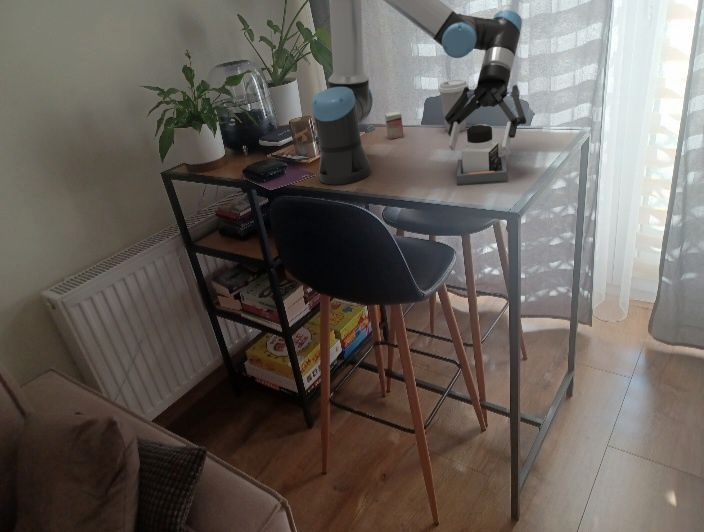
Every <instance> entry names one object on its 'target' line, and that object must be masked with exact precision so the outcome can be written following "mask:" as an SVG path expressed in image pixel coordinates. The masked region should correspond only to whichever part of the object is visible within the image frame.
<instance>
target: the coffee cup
mask: <svg viewBox="0 0 704 532" xmlns="http://www.w3.org/2000/svg"><path fill="white" fill-rule="evenodd" d="M465 87H468V88H469V83H467V80H465V79H461V78H460V79H450V80H445V81H442V82H441V83H440V84H439V87H438V93H439V94H440V95H439V96H440V100H441V105H442V106H441V107H442V112H443V113H442V114H443V119H444V126H445V131H446V132H449V128H450V124H448V123H447V121H446V120H445V116H446V115H447V114H448V112H449V111H450V110H451V108H452V107H453V106H454V104H455V103H456V102H457V100H458V99H459V98H460V96H461V95H462V93H463V90H464V88H465ZM469 89H470V88H469ZM467 104H468V103H467ZM467 104H466V105H467ZM466 105H465V106H466ZM465 106H464V107H465ZM464 107H463V108H464ZM459 126H460V130H459V132H461V131H464V130H467V118H465V119H464V120H463V121H462V122H461V123H460V124H459Z"/></svg>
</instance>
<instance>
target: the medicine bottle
mask: <svg viewBox="0 0 704 532" xmlns="http://www.w3.org/2000/svg"><path fill="white" fill-rule="evenodd" d="M466 137H467V138H466V139H467V142H466V144H467V145H466V146H465V147H464V148H463V149H462V150H461V159H462V165H463V174H468V173H471V172H484V171H496V170H497V169H498V168H499V156H500V154H499V142H498V141H493V127H492V126H491V125H489V124H483V123H481V124H474V125H472V126H470V127H468V128H466Z"/></svg>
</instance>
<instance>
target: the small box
mask: <svg viewBox="0 0 704 532" xmlns="http://www.w3.org/2000/svg"><path fill="white" fill-rule="evenodd" d="M384 118H385V119H384V120H385V128H386V136H387V139H389V140H393V139H398V138H404V136H405V135H404V129H403V127H404V126H403V120H402V113H401V112H400V110H398V111H391V112H388V113H387V112H386V113H384Z"/></svg>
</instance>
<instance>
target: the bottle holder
mask: <svg viewBox="0 0 704 532" xmlns="http://www.w3.org/2000/svg"><path fill="white" fill-rule="evenodd" d="M456 167H457V168H456V186H465V185H481V184H493V183H495V184H496V183H505V182H506V183H507V182H508V169H507V161H506V155H499V168H498V169H497V170H496V171H484V172H471V173H468V174H463V165H462V158H460V159H457V166H456Z"/></svg>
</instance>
